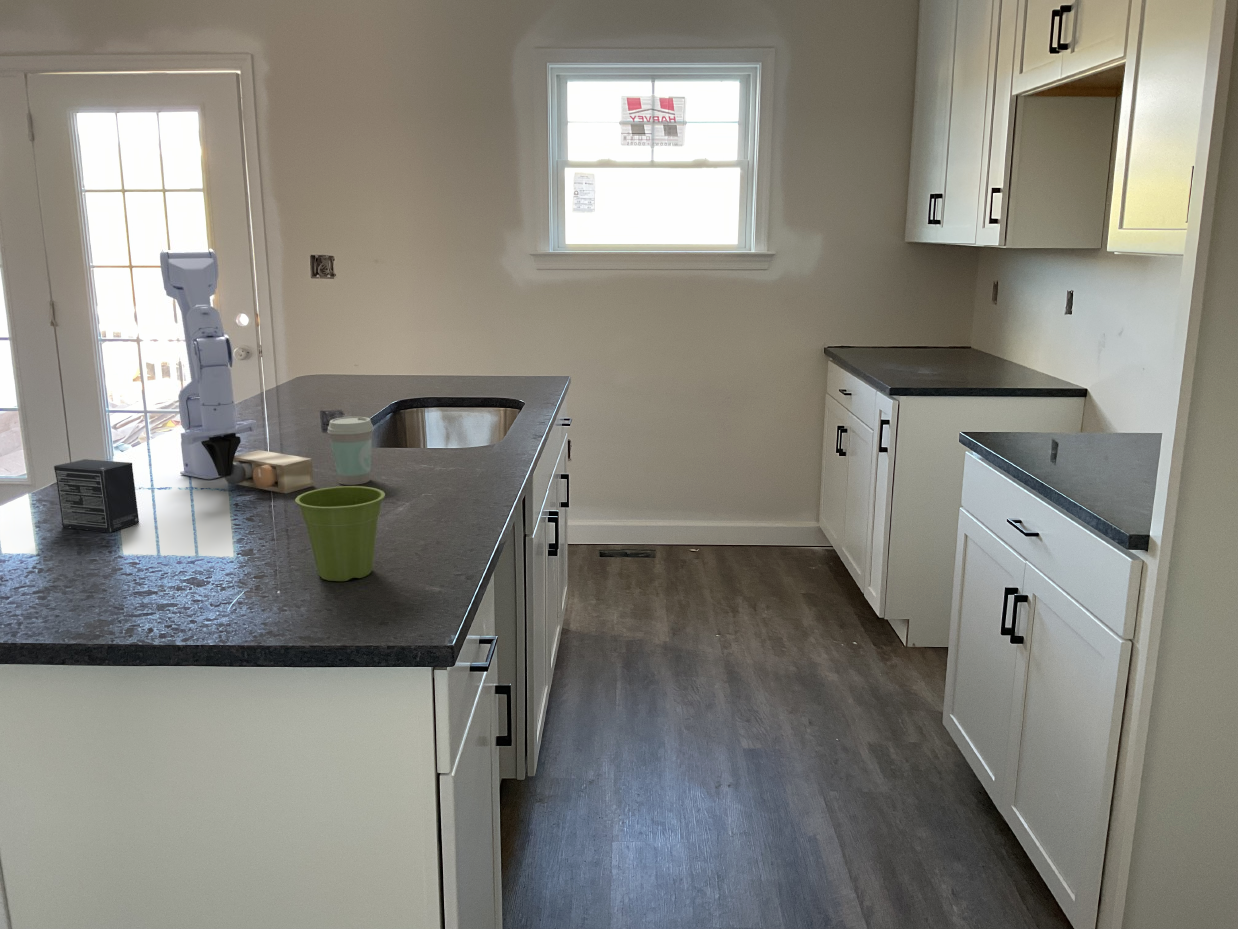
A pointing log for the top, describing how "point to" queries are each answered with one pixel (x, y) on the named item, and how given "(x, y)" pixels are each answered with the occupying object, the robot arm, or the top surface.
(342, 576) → the plant pot
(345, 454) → the coffee cup
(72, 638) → the top surface
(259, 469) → the orange knob
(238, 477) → the charcoal knob
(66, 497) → the small box
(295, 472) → the mount
